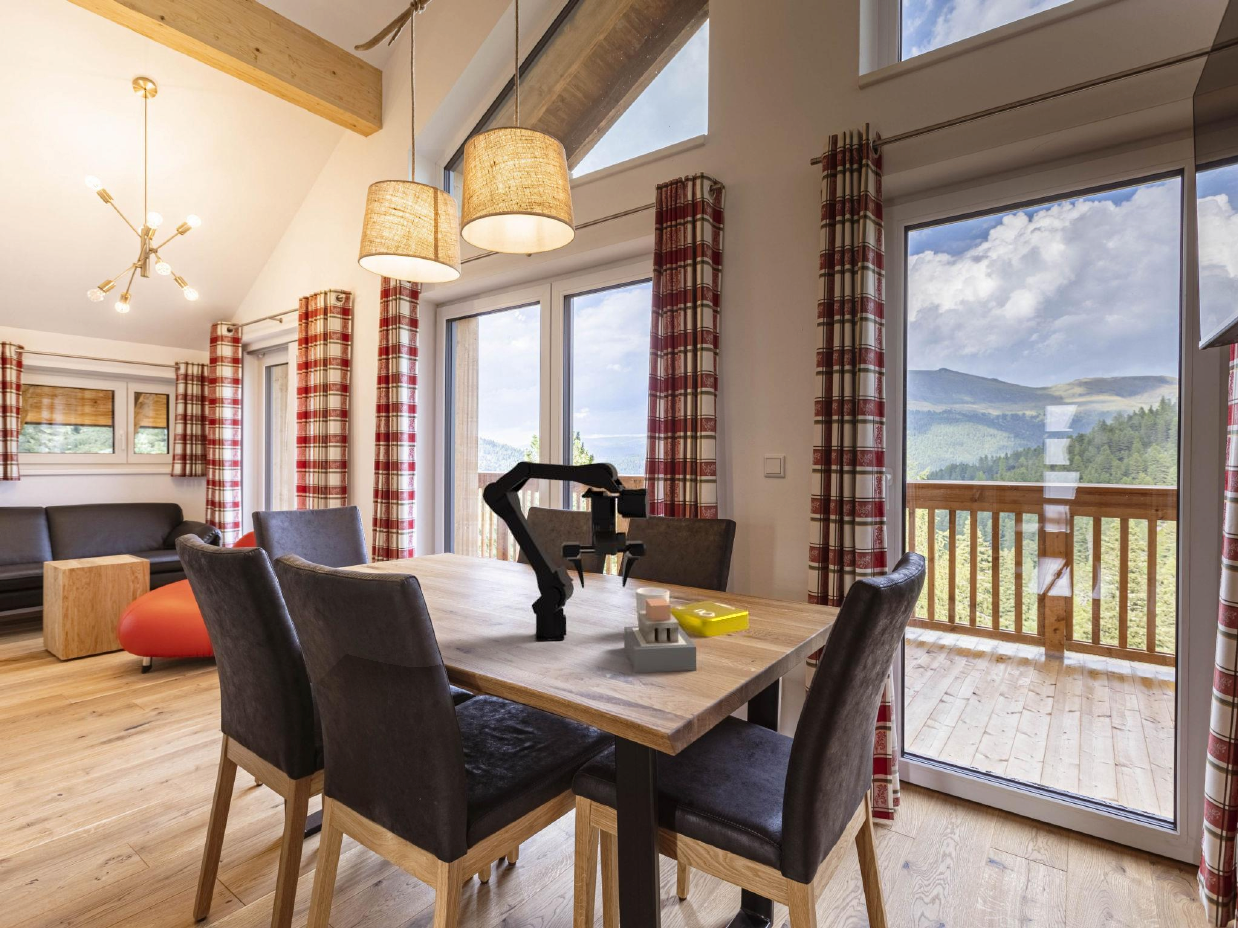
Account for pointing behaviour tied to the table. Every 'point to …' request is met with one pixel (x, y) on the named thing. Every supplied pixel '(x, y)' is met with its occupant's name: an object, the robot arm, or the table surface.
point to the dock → (659, 652)
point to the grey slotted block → (658, 629)
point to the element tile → (710, 618)
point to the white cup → (649, 597)
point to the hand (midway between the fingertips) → (603, 587)
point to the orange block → (658, 609)
